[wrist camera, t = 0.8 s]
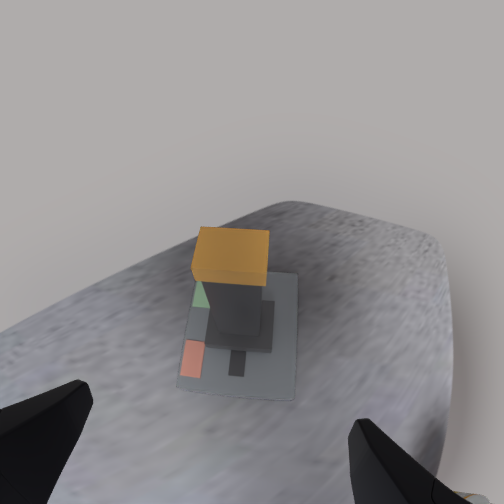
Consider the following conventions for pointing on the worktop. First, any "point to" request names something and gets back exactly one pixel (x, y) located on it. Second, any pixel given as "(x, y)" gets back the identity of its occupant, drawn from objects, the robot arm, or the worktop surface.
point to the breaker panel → (244, 362)
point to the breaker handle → (235, 288)
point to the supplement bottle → (474, 498)
